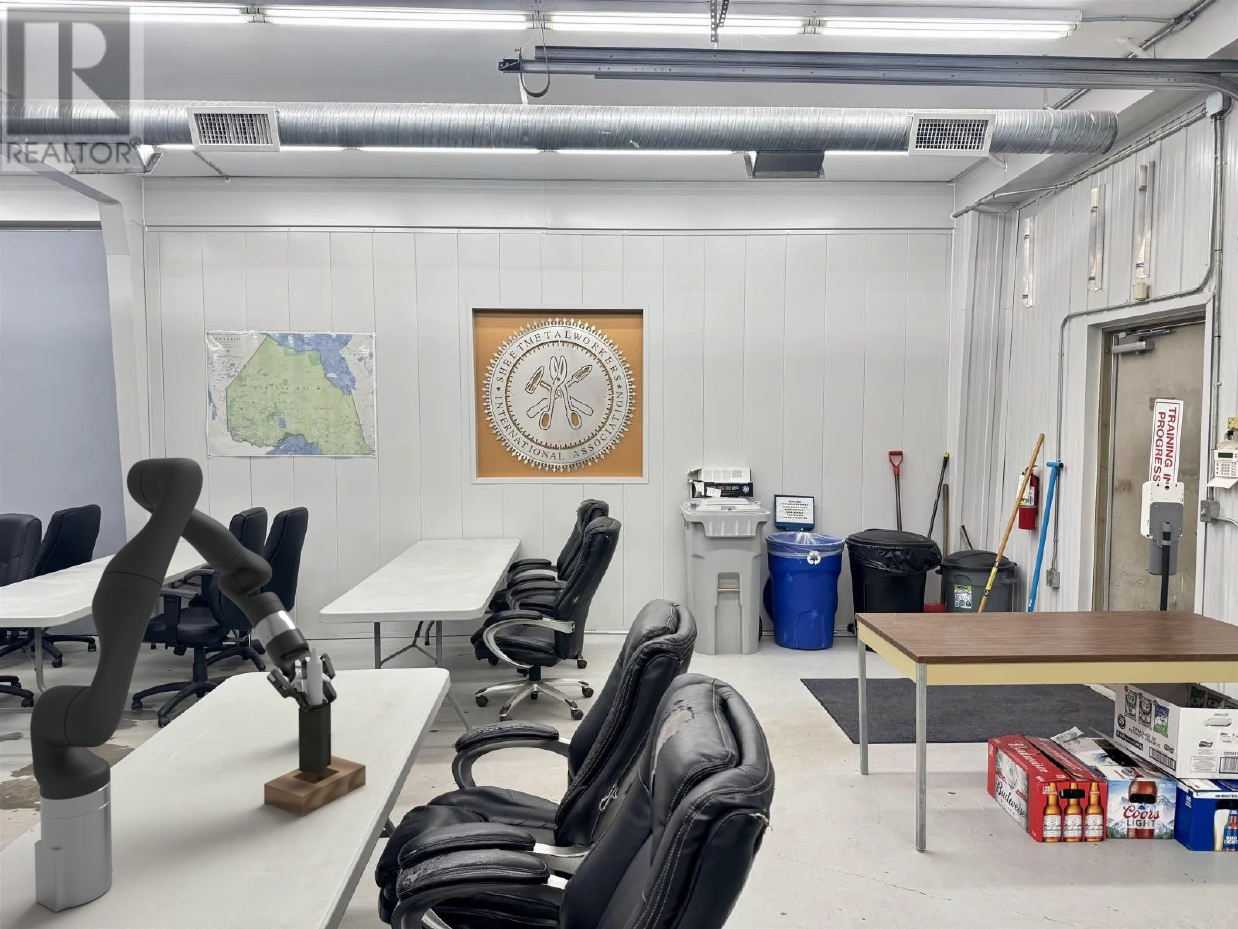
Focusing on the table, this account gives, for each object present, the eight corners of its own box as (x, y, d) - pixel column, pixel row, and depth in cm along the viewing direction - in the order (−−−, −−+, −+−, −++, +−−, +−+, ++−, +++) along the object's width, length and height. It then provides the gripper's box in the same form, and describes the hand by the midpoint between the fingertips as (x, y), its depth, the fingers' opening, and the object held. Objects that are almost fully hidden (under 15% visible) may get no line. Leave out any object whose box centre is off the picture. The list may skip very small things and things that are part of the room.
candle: (319, 773, 155) (318, 651, 153) (296, 771, 156) (295, 649, 154) (333, 762, 160) (332, 643, 158) (311, 760, 161) (310, 642, 159)
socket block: (302, 817, 148) (302, 796, 148) (264, 803, 153) (264, 783, 153) (365, 784, 162) (365, 765, 162) (328, 772, 167) (328, 754, 167)
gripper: (259, 635, 154) (301, 705, 149) (318, 620, 166) (358, 684, 161) (242, 657, 156) (282, 727, 151) (301, 641, 169) (340, 704, 164)
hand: (321, 704), depth 156 cm, fingers closed on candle, 5 cm apart
